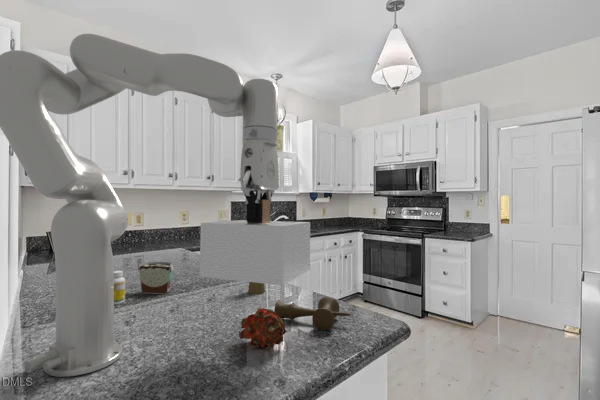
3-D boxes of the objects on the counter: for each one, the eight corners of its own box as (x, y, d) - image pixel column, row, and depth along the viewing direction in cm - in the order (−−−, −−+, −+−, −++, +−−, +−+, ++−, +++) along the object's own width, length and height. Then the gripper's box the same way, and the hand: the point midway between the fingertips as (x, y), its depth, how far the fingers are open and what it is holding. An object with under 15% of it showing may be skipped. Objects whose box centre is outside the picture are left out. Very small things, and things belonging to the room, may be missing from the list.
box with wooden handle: (282, 285, 60) (284, 199, 60) (199, 276, 66) (201, 198, 66) (309, 269, 74) (310, 200, 74) (239, 263, 81) (240, 200, 81)
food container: (179, 289, 116) (180, 261, 117) (171, 294, 110) (171, 265, 110) (147, 288, 118) (147, 261, 118) (137, 293, 112) (137, 264, 112)
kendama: (281, 315, 91) (352, 319, 86) (270, 328, 82) (349, 334, 77) (280, 294, 91) (352, 297, 86) (269, 305, 82) (348, 309, 77)
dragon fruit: (283, 362, 66) (243, 355, 73) (300, 327, 72) (262, 323, 79) (263, 336, 62) (223, 330, 69) (282, 301, 68) (244, 299, 75)
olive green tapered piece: (244, 293, 111) (245, 261, 111) (252, 289, 117) (252, 258, 117) (261, 295, 109) (261, 262, 109) (268, 290, 115) (268, 259, 115)
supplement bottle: (128, 301, 102) (129, 271, 102) (111, 306, 97) (112, 274, 97) (118, 299, 105) (118, 269, 105) (101, 303, 100) (102, 272, 100)
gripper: (257, 128, 62) (255, 224, 61) (289, 144, 77) (288, 221, 77) (223, 131, 64) (222, 223, 64) (261, 146, 80) (260, 220, 79)
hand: (258, 221), depth 70 cm, fingers closed on box with wooden handle, 3 cm apart
